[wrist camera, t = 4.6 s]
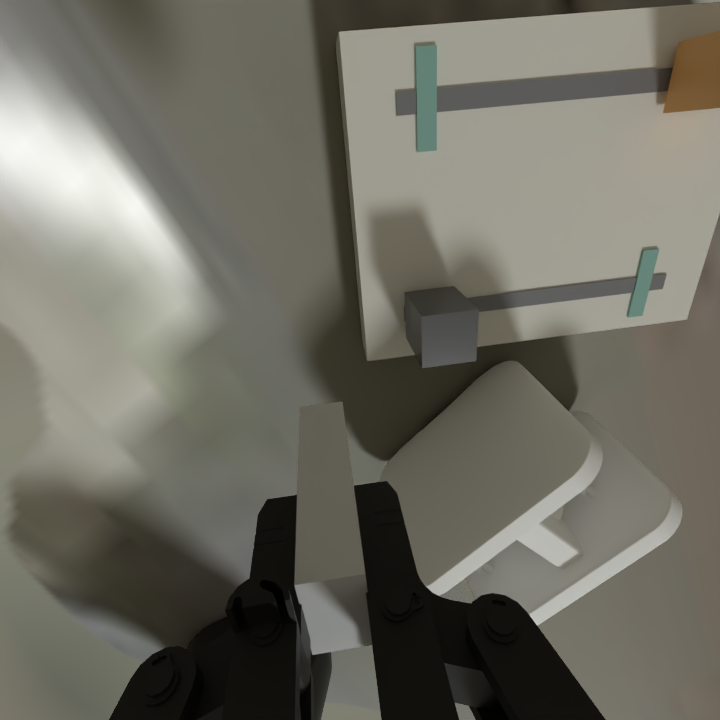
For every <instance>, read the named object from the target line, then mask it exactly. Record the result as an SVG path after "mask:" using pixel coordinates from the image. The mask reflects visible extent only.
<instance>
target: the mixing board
mask: <svg viewBox="0 0 720 720" xmlns="http://www.w3.org/2000/svg"><path fill="white" fill-rule="evenodd" d="M719 30H720V2H716V3H715V2H714V3H701V4H688V5H676V6H663V7H650V8H637V9H624V10H611V11H598V12H586V13H573V14H560V15H547V16H534V17H521V18H509V19H496V20H483V21H470V22H457V23H444V24H431V25H419V26H406V27H393V28H380V29H367V30H354V31H341V32H339V34H338V37H337V40H336V44H335V45H336V56H337V67H338V78H339V89H340V100H341V111H342V122H343V133H344V144H345V155H346V166H347V177H348V188H349V199H350V210H351V221H352V232H353V243H354V254H355V265H356V276H357V287H358V298H359V309H360V320H361V331H362V342H363V348H364V351H365V354H366V358H367V361H374V360H382V359H389V358H397V357H405V356H412V355H415V354H414V352H413V350H412V348H411V346H410V344H409V343H408V341H407V339H406V321H405V293H404V292H409V291H417V290H425V289H433V288H442V287H450V286H454V287H456V288H457V289H458V290H459V291H460V292H461V293H462V294H463V295H464V296H465V297H466V298H467V299H468V300H470V301H471V302H472V303H473V304H474V305H475V306H476V307H477V308H478V309H479V320H478V338H477V347H481V346H488V345H496V344H504V343H511V342H519V341H526V340H534V339H542V338H549V337H557V336H565V335H572V334H580V333H587V332H595V331H603V330H610V329H618V328H626V327H633V326H641V325H648V324H656V323H664V322H671V321H679V320H687V317H688V313H689V310H690V307H691V304H692V300H693V297H694V294H695V291H696V288H697V284H698V281H699V278H700V275H701V271H702V268H703V265H704V262H705V258H706V255H707V252H708V249H709V245H710V242H711V239H712V236H713V233H714V229H715V226H716V223H717V220H718V216H719V213H720V108H714V109H703V110H693V111H683V112H672V113H663V110H664V105H665V101H666V96H667V92H668V87H669V83H670V79H671V74H672V70H673V65H674V61H675V56H676V52H677V47H678V43H679V42H681V41H684V40H688V39H691V38H695V37H698V36H702V35H705V34H709V33H712V32H716V31H719Z"/></svg>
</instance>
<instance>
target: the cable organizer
mask: <svg viewBox="0 0 720 720" xmlns="http://www.w3.org/2000/svg"><path fill="white" fill-rule="evenodd" d="M383 481H387V482H388V483H389V484H390V485H391V486H392V488H393V489H394V490H395V491H396V492H397V494H398V498H399V502H400V506H401V511H402V514H403V518H404V523H405V526H406V530H407V534H408V538H409V541H410V545H411V549H412V553H413V557H414V561H415V565H416V569H417V572H418V575H419V577H420V579H421V581H422V582H423V584H424V585H425V586H426V587H427V588H428V589H429V590H430V591H431V592H432V593H434V594H436V595H438V596H439V595H441V594H443V593H445V592H447V591H448V590H450V589H451V588H452V587H454V586H455V585H456V584H458V583H459V582H460V581H462V580H463V579H464V578H466V577H467V580H468V583H469V585H470V588H471V591H472V593H473V596H474V599H475V600H476V599H477V598H478V597H480V596H481V595H485V594H490V593H496V594H501V595H506V596H507V597H509V598H511V599H513V600H515V601H517V602H518V603H519V604H520V605H521V606H522V607H523V608H524V609H525V610H526V611H527V612H528V614H529V615H530V617H531V618H532V619H533V621H534V622H535V623H536V625H537V626H538V625H539V624H541V623H542V622H544V621H545V620H547V619H548V618H550V617H551V616H553V615H554V614H556V613H557V612H559V611H560V610H562V609H563V608H565V607H566V606H568V605H569V604H571V603H572V602H574V601H575V600H577V599H579V598H580V597H582V596H583V595H585V594H586V593H588V592H589V591H591V590H592V589H594V588H595V587H597V586H598V585H600V584H601V583H603V582H604V581H606V580H607V579H609V578H610V577H612V576H613V575H615V574H616V573H618V572H620V571H621V570H623V569H624V568H626V567H627V566H629V565H630V564H632V563H633V562H635V561H636V560H638V559H639V558H641V557H642V556H644V555H645V554H647V553H648V552H650V551H651V550H653V549H654V548H656V547H657V546H659V545H660V544H662V543H664V542H665V541H666V540H668V539H669V538H670V537H671V536H672V535H673V534H674V532H675V531H676V530H677V528H678V526H679V525H680V522H681V519H682V506H681V503H680V501H679V499H678V498H677V496H676V495H675V494H674V493H673V492H672V491H671V490H670V489H669V488H668V487H667V486H666V485H665V484H664V483H663V482H662V481H661V480H659V479H658V478H657V477H656V476H655V475H654V474H653V473H652V472H651V471H650V470H649V469H648V468H647V467H646V466H644V465H643V464H642V463H641V462H640V461H639V460H638V459H637V458H636V457H635V456H634V455H633V454H632V453H631V452H630V451H628V450H627V449H626V448H625V447H624V446H623V445H622V444H621V443H620V442H619V441H618V440H617V439H616V438H615V437H613V436H612V435H611V434H610V433H609V432H608V431H607V430H606V429H605V428H604V427H603V426H602V425H601V424H600V423H599V422H597V421H596V420H595V419H594V418H593V417H592V416H591V415H590V414H588V413H586V412H583V411H573V412H569V411H568V410H567V409H566V408H565V407H564V406H563V405H562V404H561V403H560V402H559V401H558V400H557V399H556V398H555V397H554V396H553V395H552V394H551V393H550V392H549V391H548V390H547V389H546V388H545V387H544V386H543V385H542V384H541V383H540V382H539V381H538V380H537V379H536V378H535V377H534V376H533V375H532V374H531V373H530V372H529V371H527V370H526V369H525V368H524V367H523V366H522V365H521V364H520V363H519V362H517V361H505V362H502V363H499V364H497V365H495V366H494V367H492V368H491V369H489V370H488V371H487V372H485V373H484V374H483V375H481V376H480V377H479V378H477V379H476V380H475V381H474V382H473V383H472V384H471V385H470V386H469V387H468V388H467V389H466V390H465V391H464V392H463V393H462V394H461V395H459V396H458V397H457V398H456V399H455V401H453V402H452V403H451V404H450V405H449V406H448V407H447V408H446V409H445V410H443V411H442V412H441V413H440V414H439V415H438V416H437V417H436V418H435V419H434V420H432V421H431V422H430V423H429V424H428V425H427V426H426V427H425V428H424V429H423V430H421V431H420V432H418V433H417V434H416V435H415V436H414V437H413V438H412V439H411V440H410V441H408V442H407V443H406V444H405V445H404V446H403V447H402V448H401V449H400V450H399V451H398V452H397V453H396V454H395V455H394V456H393V457H392V458H391V459H390V460H389V462H388V463H387V465H386V466H385V468H384V470H383V472H382V474H381V477H380V481H379V482H383Z"/></svg>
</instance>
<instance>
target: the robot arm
mask: <svg viewBox="0 0 720 720" xmlns="http://www.w3.org/2000/svg"><path fill="white" fill-rule="evenodd" d="M225 611H226V614H227V616H228V618H227V619H224V620H221V621H219V622H217V623H215V624H213V625H211V626H209V627H207V628H206V629H204V630H203V631H201V632H200V633H199V634H198V635H197V636H196V637H195V638H194V639H193V640H192V642H191V643H190V645H189V647H188V649H184V648H182V647H179V646H176V647H168V648H164V649H162V650H160V651H158V652H156V653H154V654H152V655H151V656H150V657H149V658H148V659H147V660H146V661H144V662H143V663H142V664H141V665H140V666H139V668H138V669H137V671H136V672H135V674H134V675H133V676H132V678H131V679H130V681H129V683H128V685H127V687H126V689H125V691H124V692H123V694H122V696H121V698H120V700H119V702H118V704H117V706H116V708H115V709H114V711H113V713H112V715H111V717H110V719H109V720H321V716H322V712H323V708H324V703H325V699H326V694H327V690H328V686H329V681H330V677H331V669H332V662H331V652H333V651H339V650H345V649H351V648H357V647H363V646H369V645H372V646H373V654H374V662H375V670H376V678H377V686H378V694H379V702H380V710H381V718H382V720H459V718H458V714H457V711H456V707H455V703H460V704H464V705H468V706H469V707H470V709H471V711H472V713H473V715H474V717H475V719H476V720H605V718H604V717H603V716H602V714H601V713H600V711H599V710H598V709H597V707H596V706H595V705H594V703H593V702H592V700H591V699H590V698H589V696H588V695H587V694H586V692H585V691H584V689H583V688H582V687H581V685H580V684H579V683H578V681H577V680H576V678H575V677H574V676H573V674H572V673H571V672H570V670H569V669H568V667H567V666H566V665H565V663H564V662H563V661H562V659H561V658H560V656H559V655H558V654H557V652H556V651H555V650H554V648H553V647H552V645H551V644H550V643H549V641H548V640H547V639H546V637H545V636H544V634H543V633H542V632H541V630H540V629H539V628H538V626H537V625H536V623H535V622H534V621H533V619H532V618H531V617H530V615H529V614H528V612H527V611H526V610H525V609H524V608H523V607H522V606H521V605H520V604H519V603H518V602H517V601H515V600H513V599H511V598H509V597H507V596H506V595H501V594H496V593H490V594H485V595H481V596H480V597H478V598H477V599H476V600H474V601H473V602H472V604H470V603H464V602H459V601H453V600H449V599H445V598H442V597H440V596H438V595H436V594H434V593H432V592H431V591H430V590H429V589H428V588H427V587H426V586H425V585H424V584H423V582H422V581H421V579H420V577H419V575H418V572H417V569H416V565H415V561H414V557H413V553H412V549H411V545H410V541H409V538H408V534H407V530H406V526H405V523H404V518H403V514H402V511H401V506H400V502H399V498H398V494H397V492H396V491H395V490H394V489H393V488H392V486H391V485H390V484H389V483H388V482H387V481H383V482H376V483H370V484H363V485H356V486H354V484H353V477H352V469H351V462H350V454H349V447H348V439H347V432H346V424H345V417H344V409H343V402H342V401H340V402H333V403H325V404H318V405H310V406H303V407H300V418H299V450H298V483H297V495H294V496H287V497H280V498H274V499H267V501H266V502H265V504H264V506H263V507H262V509H261V511H260V512H259V514H258V519H257V527H256V534H255V542H254V549H253V557H252V564H251V572H250V579H248V580H247V581H245V582H244V583H242V584H241V585H240V586H238V587H237V589H236V590H235V591H234V593H233V594H232V595H231V596H230V598H229V601H228V603H227V606H226V609H225ZM454 702H455V703H454Z"/></svg>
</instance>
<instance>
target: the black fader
mask: <svg viewBox="0 0 720 720" xmlns="http://www.w3.org/2000/svg"><path fill="white" fill-rule="evenodd" d="M404 293H405V321H406V339H407V341H408V343H409V344H410V346H411V348H412V350H413V352H414V354H415V356H416V358H417V359H418V361H419V363H420V365H421V367H422V368H428V367H436V366H443V365H451V364H458V363H466V362H473V361H476V357H477V338H478V320H479V309H478V308H477V307H476V306H475V305H474V304H473V303H472V302H471V301H470V300H468V299H467V298H466V297H465V296H464V295H463V294H462V293H461V292H460V291H459V290H458V289H457V288H456V287H454V286H450V287H442V288H433V289H425V290H417V291H409V292H404Z"/></svg>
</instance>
